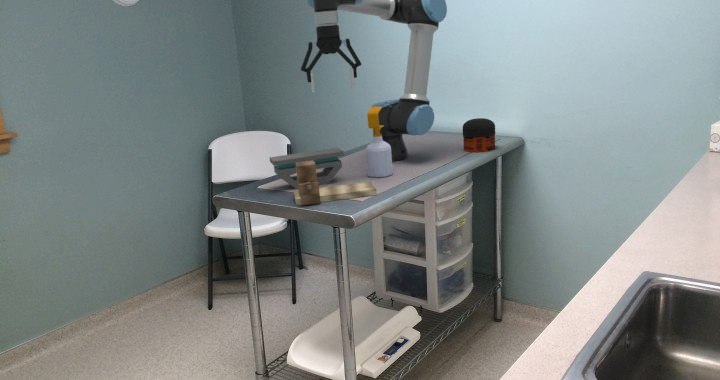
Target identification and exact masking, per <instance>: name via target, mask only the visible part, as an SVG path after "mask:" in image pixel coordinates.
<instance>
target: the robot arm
mask: <svg viewBox="0 0 720 380" xmlns="http://www.w3.org/2000/svg"><path fill="white" fill-rule="evenodd" d="M306 2H307V4H308V5H309V7H311V8H312V9H314V19H315V21H314V22H315V25H316V28H315V32H316V42H312V41H308V42H307V51H306V53H305V55H304V56H305V57H304V58H303V61H302V64H301V67H300V71H302V72H304V73H305V74H306V79H307V82H308V83H310V85H311V87H310V88H311V92H312V93H316V92H315V81H314V72H312V70H313V68H314V67H315V65H316V64H317V63H318V61H319V60H320V58H321V57H322V56H323V55H330V54H331V55H335V54H338V55H339V56H340V57H341V58H342V59H344V61H345V62H346V63H348V65H349V66H350V67H351V68H349V74H350V86H351V88H352V89H355V88H356V86H355V78H356V79H357V77H358V72H357V69H358V67H360V66H362V62H361V61H360V59H359V57H358V55H357V54H356V51H355V50H354V48H353V47H352V45H351V40H350V38H347V37H346V38H345V39H341V35H340V26H339V25H338V24H339V13H338V11H343V12H349V13H356V14H361V15H368V16H374V17H376V16H377V17H379V18H380V19H381V20H383V21H389V22H393V23H399V24H404V25H405V24H406V25H407V28H409V30H410V37H409V45H408V55H407V64H406V72H405V79H404V80H405V81H404V88H403V89H404V91H403V94H402V95H401V96H400V97H399V98H395V99H388V100H383V101H378V102H375V103H373V104H372V105H371V107H382V109H381V110H380V112H379V114H378V117H379V125H384V127H382V128H381V130H379V132H380V134H382V140H383V141H385V142H387V143H388V144H389V145H390V146H391V155H392V162H396V161H402V160H405V159H407V158H409V151H408V150H409V149H408V147H407V145H406V143H405V141H404V138H403V135H410V136H423V135H425V134H427V133H428V132H429V131H431V128H432V126H433V124H434V122H435V112H434V109H433V107H432V106H431V105H430V99H429V98H428V97H427V94H428V93H427V92H428V84H429V75H430V68H431V67H430V66H431V59H432V50H433V41H434V34H435V32H437V31H438V30H439V24H440V23H441V22H443V21H444V20H445V18H446V16H447V13H448V9H447V8H448V6H447V2H446V0H306ZM342 44H343V45H344V46H345V47H346V48H347V50H348V52H349V53H350V55H351V57H352V58H353V60H354V61H352V59H351V58H349V56H347V54H345V53H344V52H343V50H341V48H340V47H341V46H342ZM315 47H317V48H318V49H319V50H318V52H317V53H316V55H315V56H314V57H313V59H312V60H311V62H310V64H309V65H308V62H309V60H310V57H311V54H312V51H313V50H314V48H315ZM354 62H355V63H354ZM307 65H308V67H307ZM373 134H375V131H373V130H372V135H373Z"/></svg>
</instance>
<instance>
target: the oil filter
mask: <svg viewBox="0 0 720 380" xmlns="http://www.w3.org/2000/svg"><path fill="white" fill-rule="evenodd" d="M462 137H463V140H462V141H463V151H465V152H468V153H477V154H478V153H488V152H491V151H494V150H496V124H495V122H494V121H493V120H491V119H489V118H485V117H484V118H483V117H481V118H480V117H476V118H470V119H469V120H466V121H465V122H464V123H463V125H462Z"/></svg>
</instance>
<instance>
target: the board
mask: <svg viewBox="0 0 720 380" xmlns="http://www.w3.org/2000/svg"><path fill="white" fill-rule="evenodd" d="M319 193H320V202H321V203H324V202H332V201H333V202H334V201H339V200H347V198H349V199H354V198H353V197H357V198H363V197H362V196H365V197H372V196H377V188H376V186H374V184H373V183H372V182H371V181H366V182H357V183H349V184H342V185H340V184H339V185H334V186H325V187H319ZM293 197H294V201H295V206H299V205H301V197H300V195H299V190H294V191H293ZM301 206H302V205H301Z"/></svg>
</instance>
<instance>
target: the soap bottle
mask: <svg viewBox="0 0 720 380" xmlns="http://www.w3.org/2000/svg"><path fill="white" fill-rule="evenodd" d="M381 109H382V107H372V106H371V107H370V109H369V110H368V111H367V115H366V116H367V127H368V129H372V132H373V131H375V134H373V133H372V141H371V142H370V143H369V144H367V146H366V148H365V154H366V157H365V158H366V167H367V175H368V177H370V178H386V177H390V176H392V175H393V161H392V155H391V146H390V145H389V144H388V143H387V142H385V141H383V140H382V134H380V132H379V130H381V128H382V127H384V125H379V117H378V114H379V112H380V110H381Z"/></svg>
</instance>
